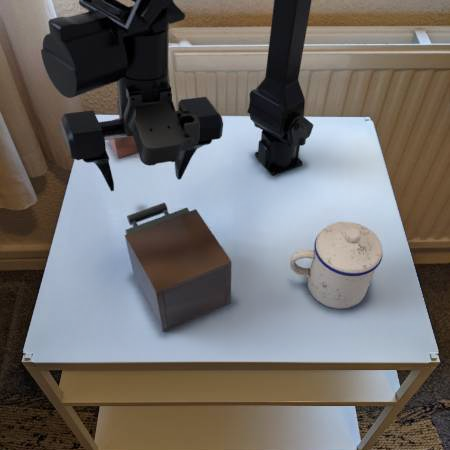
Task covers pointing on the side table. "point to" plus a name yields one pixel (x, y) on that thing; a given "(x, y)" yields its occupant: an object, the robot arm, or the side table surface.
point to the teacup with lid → (340, 264)
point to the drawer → (151, 213)
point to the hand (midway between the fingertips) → (145, 183)
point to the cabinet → (180, 269)
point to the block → (123, 146)
